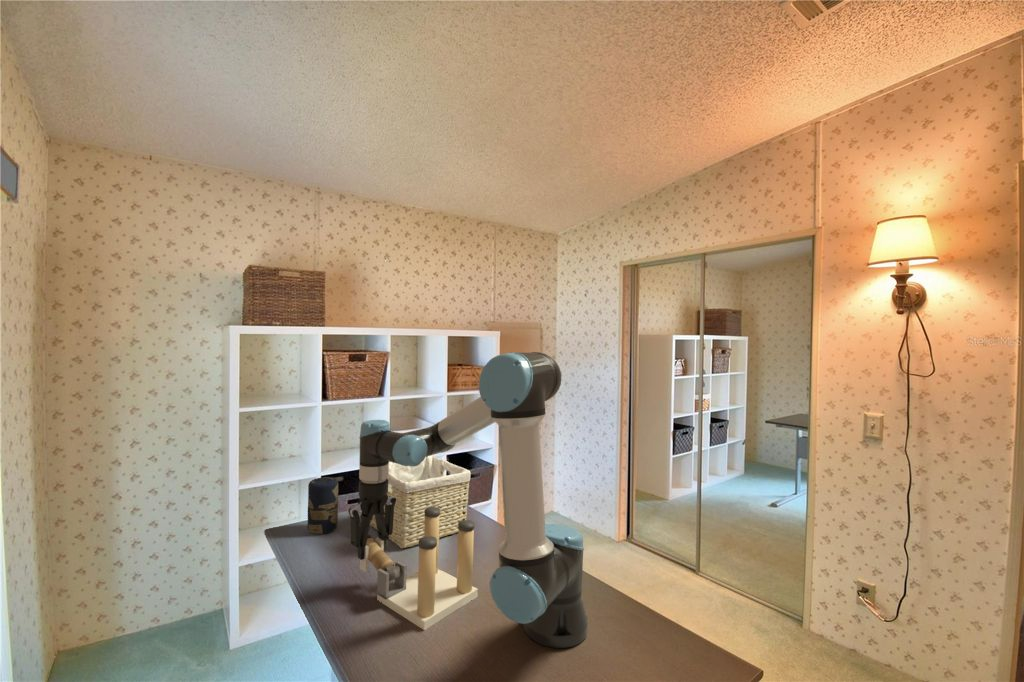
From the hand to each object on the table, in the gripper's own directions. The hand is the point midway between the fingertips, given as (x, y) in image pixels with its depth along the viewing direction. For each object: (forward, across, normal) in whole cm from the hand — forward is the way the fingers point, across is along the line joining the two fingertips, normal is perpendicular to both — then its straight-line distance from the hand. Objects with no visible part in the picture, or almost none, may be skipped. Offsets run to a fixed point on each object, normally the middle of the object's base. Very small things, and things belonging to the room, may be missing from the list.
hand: (371, 566), depth 122 cm
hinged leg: (-1, 0, +2) cm, 3 cm away
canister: (+6, -10, -42) cm, 43 cm away
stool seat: (+6, -6, +15) cm, 18 cm away
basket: (+6, -33, -20) cm, 38 cm away
